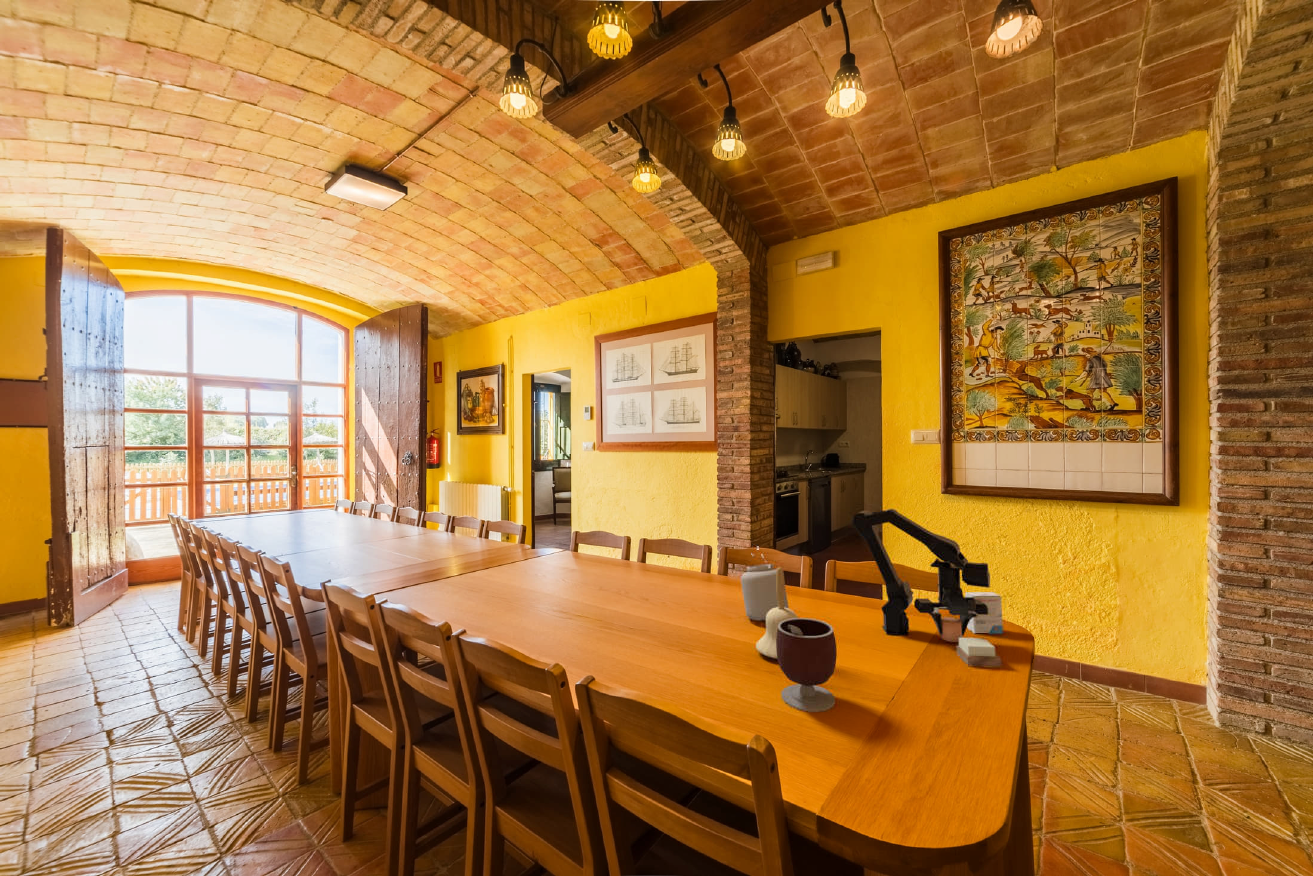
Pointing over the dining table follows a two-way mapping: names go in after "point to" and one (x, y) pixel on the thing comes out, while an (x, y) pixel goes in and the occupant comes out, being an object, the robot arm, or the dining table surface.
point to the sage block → (976, 647)
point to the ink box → (994, 617)
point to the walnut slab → (979, 659)
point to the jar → (760, 591)
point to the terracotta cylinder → (951, 629)
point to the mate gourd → (806, 662)
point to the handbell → (775, 619)
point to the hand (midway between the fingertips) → (951, 635)
